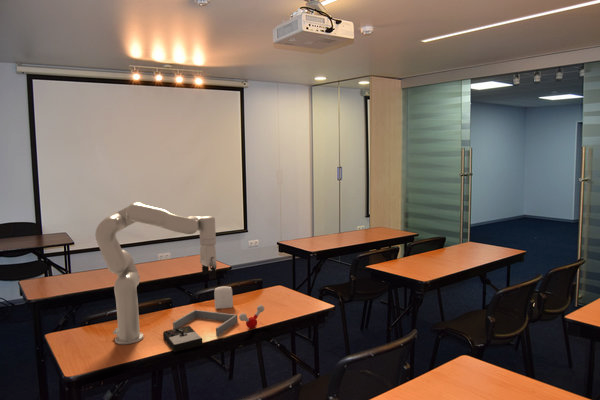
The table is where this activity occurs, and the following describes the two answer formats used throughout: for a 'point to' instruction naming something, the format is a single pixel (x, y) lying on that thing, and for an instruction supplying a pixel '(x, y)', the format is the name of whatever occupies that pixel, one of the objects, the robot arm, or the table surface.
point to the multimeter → (182, 338)
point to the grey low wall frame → (228, 318)
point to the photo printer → (223, 297)
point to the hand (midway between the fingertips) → (209, 276)
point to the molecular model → (251, 321)
